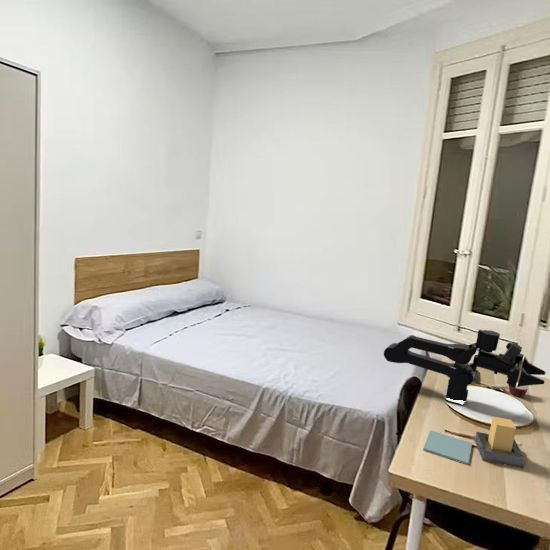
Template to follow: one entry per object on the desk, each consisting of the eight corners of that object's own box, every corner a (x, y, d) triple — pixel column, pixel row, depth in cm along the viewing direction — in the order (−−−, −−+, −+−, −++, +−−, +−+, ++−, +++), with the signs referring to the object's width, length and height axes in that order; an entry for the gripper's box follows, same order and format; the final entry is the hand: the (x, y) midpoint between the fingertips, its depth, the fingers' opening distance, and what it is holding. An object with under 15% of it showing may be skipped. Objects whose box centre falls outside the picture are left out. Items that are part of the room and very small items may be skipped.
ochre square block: (490, 456, 128) (496, 424, 126) (486, 447, 132) (492, 416, 131) (509, 460, 127) (516, 428, 125) (504, 451, 131) (511, 419, 130)
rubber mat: (423, 450, 128) (423, 448, 128) (430, 431, 138) (430, 430, 138) (468, 464, 123) (468, 463, 123) (471, 444, 133) (472, 443, 133)
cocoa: (526, 402, 168) (534, 372, 165) (507, 397, 170) (515, 368, 167) (524, 391, 176) (531, 363, 173) (506, 387, 179) (513, 359, 176)
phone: (458, 377, 182) (459, 365, 196) (457, 380, 183) (458, 368, 196) (479, 382, 179) (478, 370, 193) (478, 385, 180) (478, 372, 193)
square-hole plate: (482, 460, 126) (484, 450, 125) (474, 440, 136) (476, 431, 135) (523, 468, 123) (525, 458, 123) (512, 447, 134) (514, 438, 133)
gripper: (495, 348, 145) (550, 363, 137) (501, 334, 160) (551, 347, 153) (487, 379, 147) (541, 396, 140) (494, 362, 163) (543, 377, 155)
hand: (544, 377), depth 147 cm, fingers open, 9 cm apart
